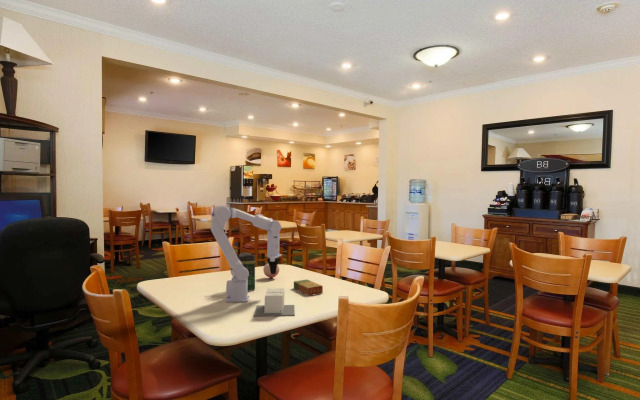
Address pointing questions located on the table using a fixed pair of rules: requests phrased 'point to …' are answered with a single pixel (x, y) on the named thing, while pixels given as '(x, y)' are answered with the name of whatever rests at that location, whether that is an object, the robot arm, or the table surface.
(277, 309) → the supplement box
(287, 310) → the mat
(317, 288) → the carton
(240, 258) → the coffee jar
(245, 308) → the table surface
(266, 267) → the decorative fruit
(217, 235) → the robot arm
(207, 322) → the table surface
